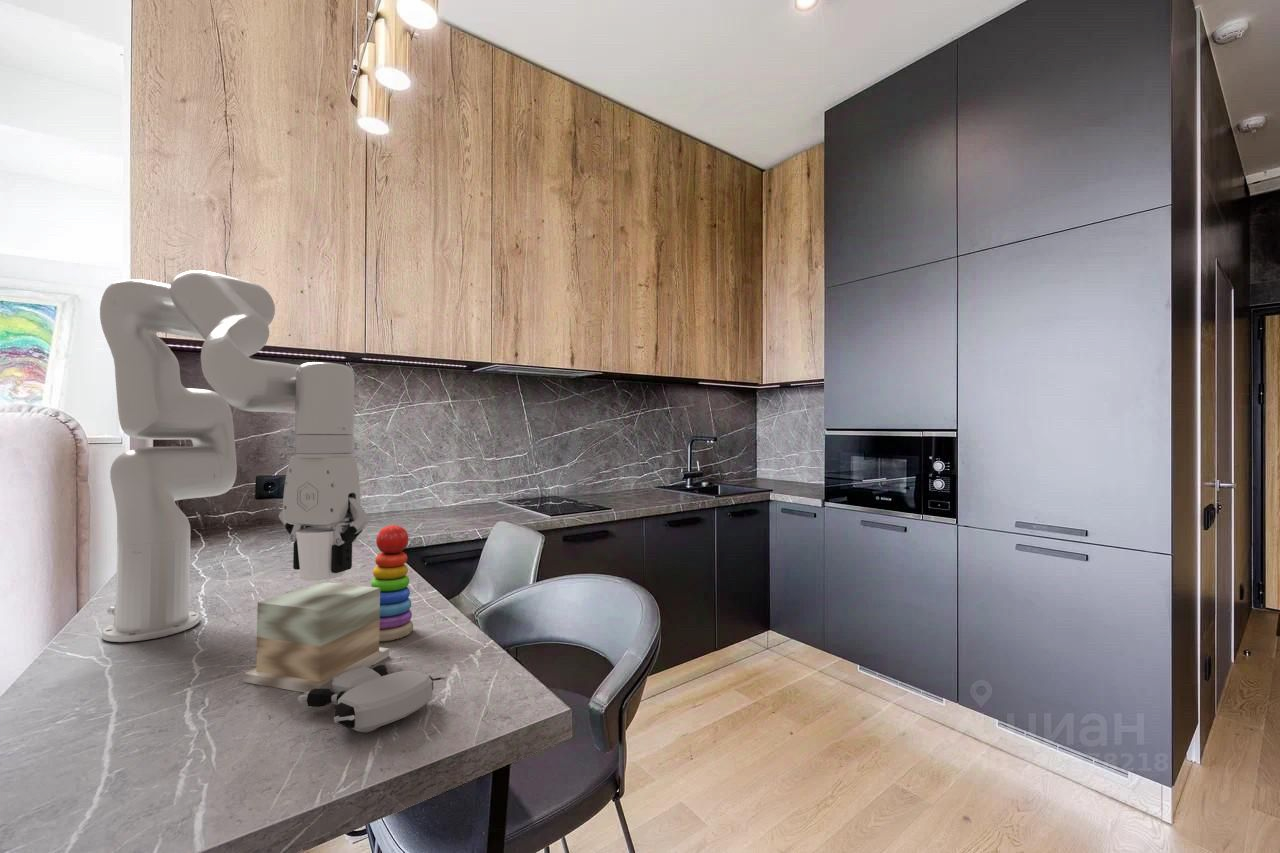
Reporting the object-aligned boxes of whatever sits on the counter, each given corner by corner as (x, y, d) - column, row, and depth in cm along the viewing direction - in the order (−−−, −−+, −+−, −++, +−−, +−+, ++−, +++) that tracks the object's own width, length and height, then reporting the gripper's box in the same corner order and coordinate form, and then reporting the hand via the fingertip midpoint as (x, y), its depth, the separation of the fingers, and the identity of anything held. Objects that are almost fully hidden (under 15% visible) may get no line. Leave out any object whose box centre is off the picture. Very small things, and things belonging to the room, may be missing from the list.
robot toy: (289, 723, 67) (356, 755, 59) (289, 685, 67) (355, 712, 59) (384, 685, 77) (451, 708, 69) (383, 652, 77) (450, 671, 69)
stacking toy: (393, 645, 89) (395, 530, 89) (351, 641, 90) (353, 528, 91) (422, 628, 96) (424, 522, 97) (382, 624, 98) (384, 520, 98)
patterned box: (243, 681, 75) (245, 603, 75) (321, 646, 88) (322, 579, 88) (319, 695, 72) (321, 613, 72) (389, 656, 84) (390, 586, 85)
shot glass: (359, 572, 82) (360, 525, 82) (315, 584, 75) (315, 533, 75) (329, 567, 85) (329, 522, 85) (284, 578, 78) (285, 529, 78)
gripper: (255, 446, 79) (252, 571, 79) (353, 448, 74) (351, 580, 74) (299, 445, 86) (298, 559, 86) (391, 447, 82) (390, 567, 81)
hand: (322, 568), depth 80 cm, fingers closed on shot glass, 6 cm apart
